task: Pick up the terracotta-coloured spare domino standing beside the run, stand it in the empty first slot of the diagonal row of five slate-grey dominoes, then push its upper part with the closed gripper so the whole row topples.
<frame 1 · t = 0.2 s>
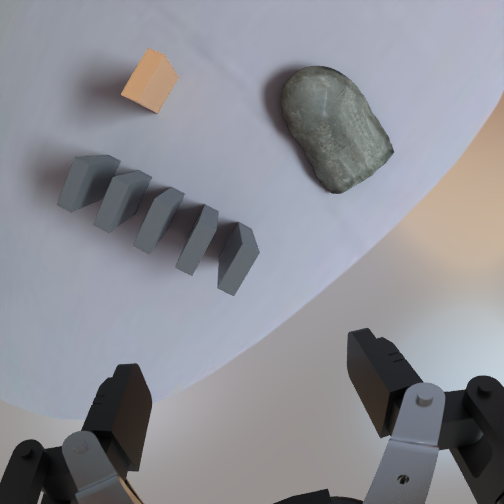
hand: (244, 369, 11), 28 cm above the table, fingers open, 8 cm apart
stone: (330, 124, 36), on the table
domino 2: (136, 192, 36), on the table
domino 5: (235, 242, 39), on the table
domino 1: (106, 176, 35), on the table
domino 4: (202, 226, 38), on the table
domino 3: (169, 208, 37), on the table
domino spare: (161, 92, 33), on the table
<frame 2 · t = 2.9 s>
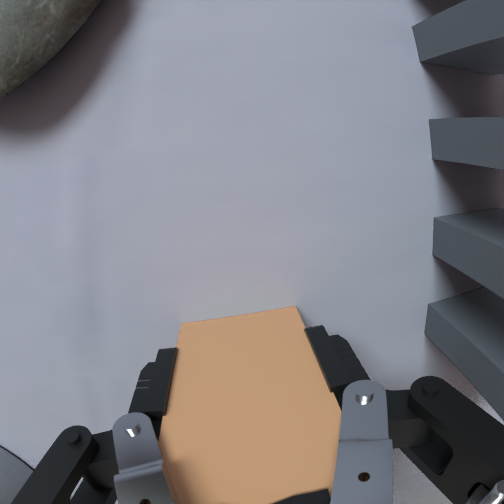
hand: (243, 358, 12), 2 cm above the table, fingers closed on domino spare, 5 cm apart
domino 2: (469, 229, 13), on the table
domino 1: (460, 308, 15), on the table
domino 4: (455, 51, 11), on the table
domino 3: (468, 139, 12), on the table
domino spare: (241, 332, 14), on the table, touching gripper
when the fingers open (3 cm above the table, at t = 8.1 s): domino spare stays where it is, on the table.
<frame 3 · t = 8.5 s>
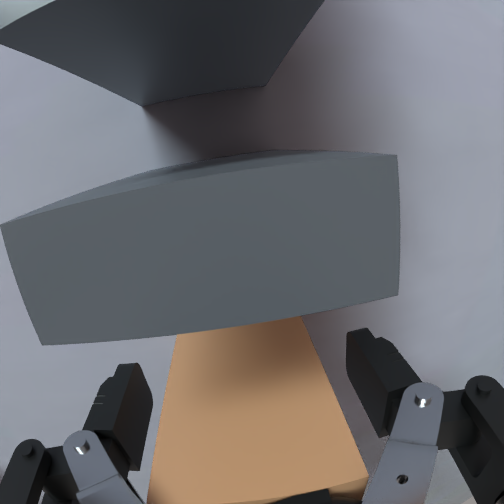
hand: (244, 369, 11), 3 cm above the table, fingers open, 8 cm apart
domino 2: (199, 73, 11), on the table
domino 1: (215, 181, 13), on the table
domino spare: (239, 322, 15), on the table
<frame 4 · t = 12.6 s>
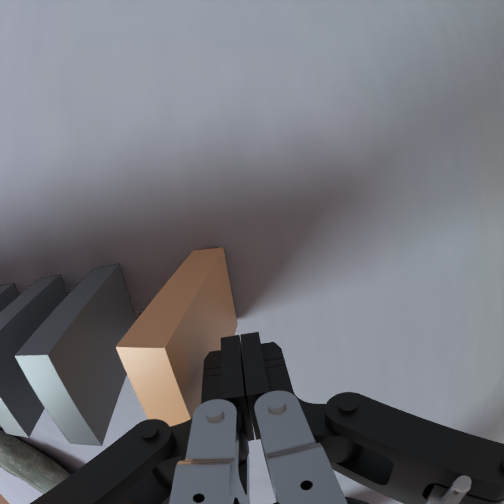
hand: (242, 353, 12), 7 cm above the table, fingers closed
stone: (36, 459, 25), on the table
domino 2: (62, 310, 19), on the table
domino 1: (117, 302, 19), on the table
domino 3: (18, 315, 19), on the table
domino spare: (215, 288, 19), on the table, tilted 11°
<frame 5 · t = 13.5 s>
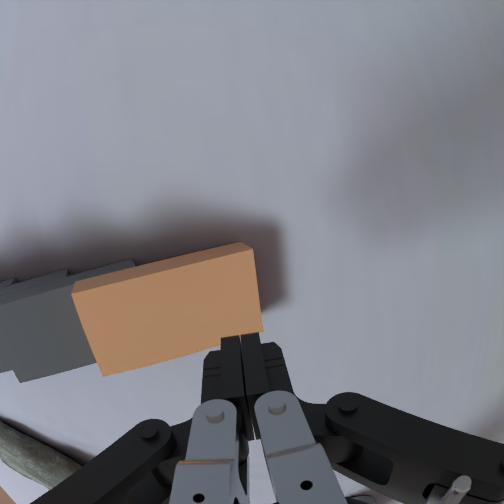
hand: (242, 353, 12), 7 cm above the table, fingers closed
stone: (55, 461, 25), on the table
domino 2: (78, 309, 18), point 1 cm above the table, tilted 66°, touching domino 1, domino 3
domino 1: (143, 301, 18), point 1 cm above the table, tilted 66°, touching domino 2, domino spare
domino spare: (251, 286, 18), point 1 cm above the table, tilted 71°, touching domino 1
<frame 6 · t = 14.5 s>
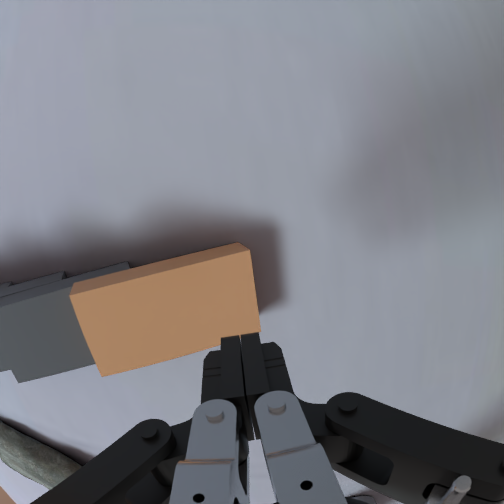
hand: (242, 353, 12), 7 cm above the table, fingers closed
stone: (55, 462, 25), on the table
domino 2: (74, 311, 18), point 1 cm above the table, tilted 68°, touching domino 1, domino 3
domino 1: (139, 304, 18), point 1 cm above the table, tilted 68°, touching domino 2, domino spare
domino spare: (249, 287, 18), point 1 cm above the table, tilted 72°, touching domino 1
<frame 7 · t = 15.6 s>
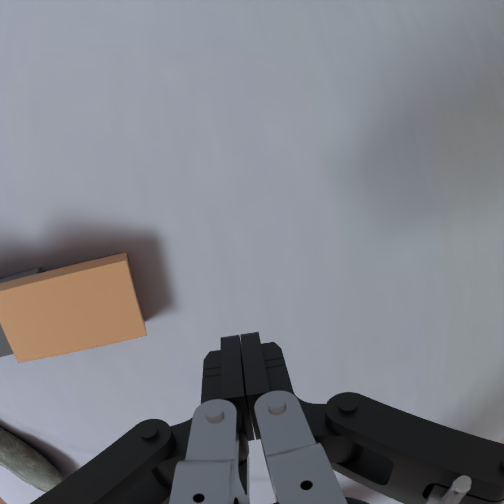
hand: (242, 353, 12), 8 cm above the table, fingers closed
stone: (19, 449, 26), on the table
domino 1: (49, 304, 19), point 1 cm above the table, tilted 69°, touching domino 2, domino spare
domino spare: (135, 294, 19), point 1 cm above the table, tilted 73°, touching domino 1
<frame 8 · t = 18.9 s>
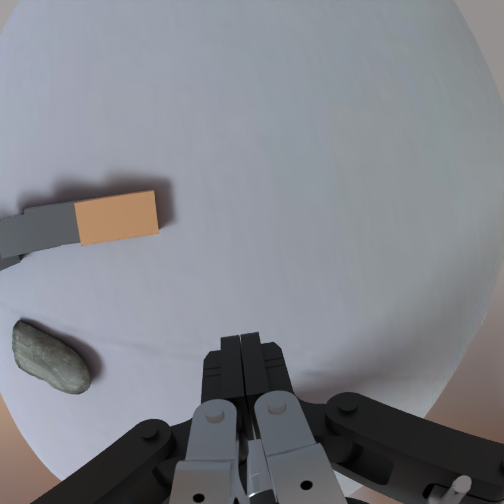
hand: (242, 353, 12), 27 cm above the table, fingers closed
stone: (55, 356, 43), on the table
domino 2: (58, 225, 36), point 1 cm above the table, tilted 75°, touching domino 1, domino 3
domino 1: (97, 218, 36), point 1 cm above the table, tilted 74°, touching domino 2, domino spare
domino 3: (15, 244, 36), point 1 cm above the table, tilted 57°, touching domino 2
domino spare: (156, 211, 36), point 1 cm above the table, tilted 76°, touching domino 1
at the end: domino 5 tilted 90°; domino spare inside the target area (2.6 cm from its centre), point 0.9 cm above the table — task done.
